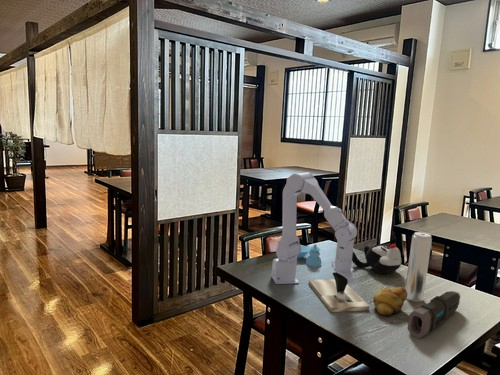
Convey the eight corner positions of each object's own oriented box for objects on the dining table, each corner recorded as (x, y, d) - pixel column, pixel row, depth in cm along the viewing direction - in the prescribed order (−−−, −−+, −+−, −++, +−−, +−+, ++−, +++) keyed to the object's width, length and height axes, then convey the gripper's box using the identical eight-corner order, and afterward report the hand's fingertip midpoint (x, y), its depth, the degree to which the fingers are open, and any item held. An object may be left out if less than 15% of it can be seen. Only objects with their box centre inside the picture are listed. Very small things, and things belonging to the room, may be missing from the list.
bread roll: (391, 321, 117) (394, 298, 116) (364, 309, 124) (366, 288, 123) (407, 309, 126) (410, 287, 125) (381, 298, 133) (383, 278, 132)
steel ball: (337, 295, 126) (332, 293, 130) (341, 306, 126) (336, 303, 130) (347, 290, 127) (342, 288, 130) (351, 301, 127) (346, 298, 130)
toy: (396, 255, 145) (356, 230, 158) (381, 288, 151) (344, 261, 164) (414, 248, 155) (375, 225, 168) (400, 279, 161) (363, 254, 174)
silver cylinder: (408, 292, 139) (416, 230, 135) (425, 298, 135) (435, 234, 130) (401, 297, 135) (409, 233, 130) (419, 304, 130) (428, 238, 126)
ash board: (330, 312, 121) (331, 307, 121) (308, 283, 142) (309, 280, 142) (368, 310, 124) (369, 306, 124) (341, 282, 145) (341, 279, 145)
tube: (465, 322, 125) (428, 342, 105) (445, 318, 130) (406, 336, 110) (463, 290, 126) (426, 304, 106) (443, 288, 131) (404, 300, 111)
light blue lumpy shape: (283, 255, 172) (284, 237, 170) (299, 252, 178) (300, 234, 177) (310, 268, 158) (312, 249, 156) (326, 264, 164) (328, 245, 162)
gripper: (364, 264, 122) (359, 302, 124) (345, 250, 136) (341, 283, 138) (344, 265, 120) (340, 302, 123) (327, 250, 134) (324, 284, 137)
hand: (340, 292), depth 130 cm, fingers closed
